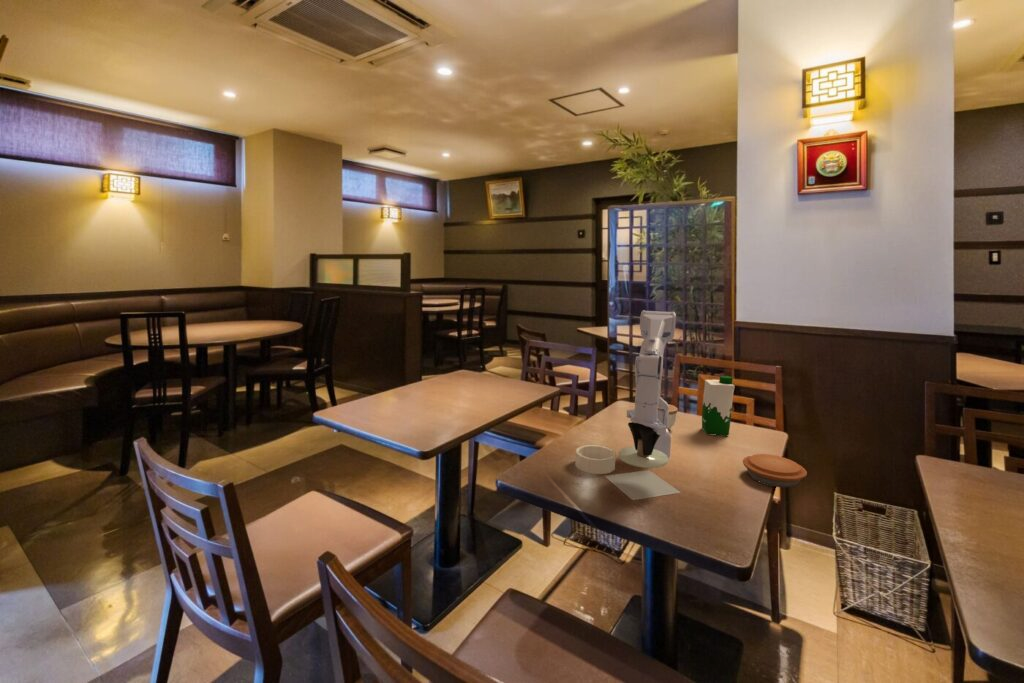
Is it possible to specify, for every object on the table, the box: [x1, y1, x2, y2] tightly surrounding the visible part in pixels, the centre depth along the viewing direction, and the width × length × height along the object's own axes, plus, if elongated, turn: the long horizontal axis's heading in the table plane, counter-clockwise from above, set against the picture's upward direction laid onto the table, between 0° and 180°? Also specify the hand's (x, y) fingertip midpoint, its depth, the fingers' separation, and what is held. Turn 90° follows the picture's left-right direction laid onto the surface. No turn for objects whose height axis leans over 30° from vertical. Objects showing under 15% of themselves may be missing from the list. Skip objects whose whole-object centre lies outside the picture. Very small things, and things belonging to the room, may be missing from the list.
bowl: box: [574, 444, 616, 475], centre depth 136 cm, size 11×11×4 cm
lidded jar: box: [658, 404, 679, 431], centre depth 171 cm, size 11×11×9 cm
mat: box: [603, 469, 682, 501], centre depth 126 cm, size 14×14×1 cm
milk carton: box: [701, 375, 736, 436], centre depth 167 cm, size 9×9×20 cm
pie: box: [742, 453, 808, 488], centre depth 132 cm, size 15×16×5 cm
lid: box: [617, 438, 669, 469], centre depth 124 cm, size 12×12×5 cm
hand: (643, 452), depth 124 cm, fingers closed on lid, 3 cm apart
